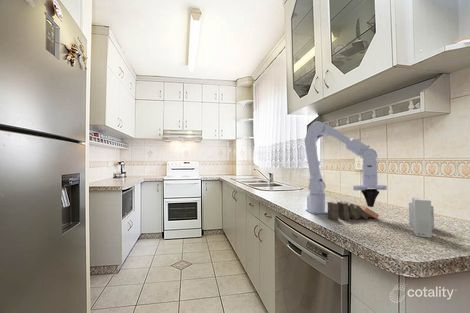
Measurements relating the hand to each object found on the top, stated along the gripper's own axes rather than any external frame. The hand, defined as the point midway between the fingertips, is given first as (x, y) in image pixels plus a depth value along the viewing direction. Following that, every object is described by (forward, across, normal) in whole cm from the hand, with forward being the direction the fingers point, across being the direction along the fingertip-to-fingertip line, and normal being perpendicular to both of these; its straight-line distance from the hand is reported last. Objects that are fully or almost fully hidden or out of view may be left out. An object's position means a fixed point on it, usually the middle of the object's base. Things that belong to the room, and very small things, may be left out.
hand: (370, 206), depth 102 cm
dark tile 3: (+4, -8, 0) cm, 9 cm away
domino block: (+4, -3, 0) cm, 5 cm away
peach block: (+4, +2, 0) cm, 4 cm away
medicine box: (+5, +8, -16) cm, 19 cm away
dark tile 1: (+5, -18, 0) cm, 18 cm away
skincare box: (+5, 0, -24) cm, 25 cm away
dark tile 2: (+5, -13, 0) cm, 14 cm away
